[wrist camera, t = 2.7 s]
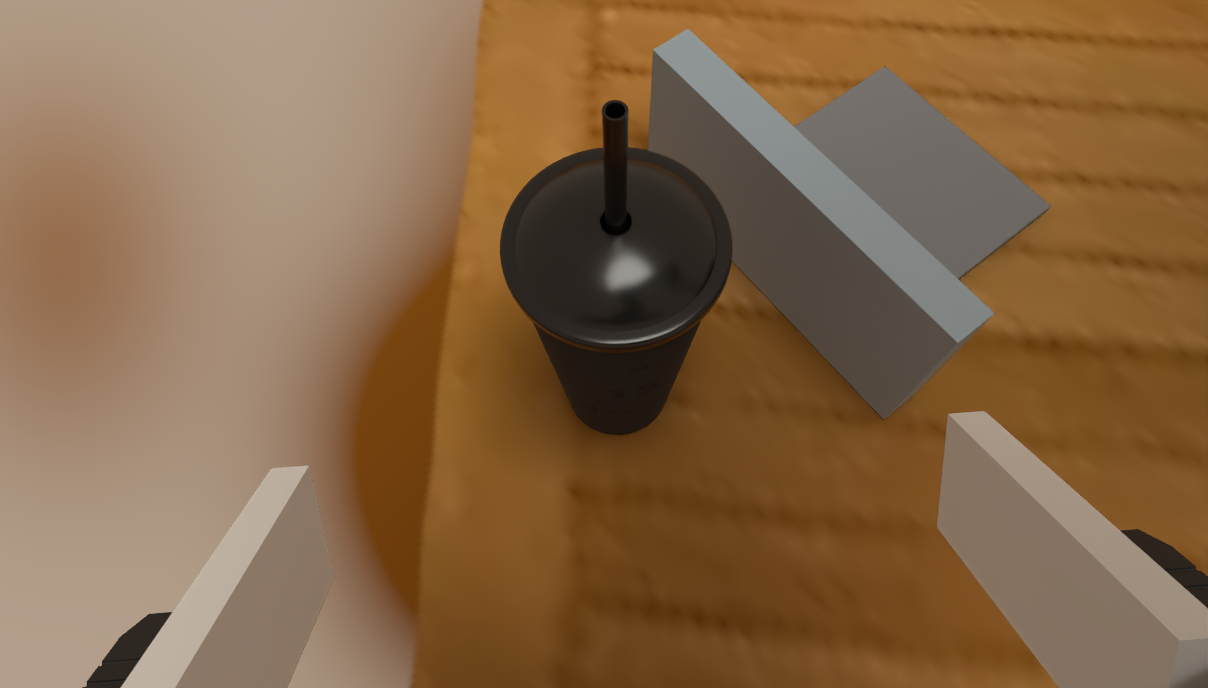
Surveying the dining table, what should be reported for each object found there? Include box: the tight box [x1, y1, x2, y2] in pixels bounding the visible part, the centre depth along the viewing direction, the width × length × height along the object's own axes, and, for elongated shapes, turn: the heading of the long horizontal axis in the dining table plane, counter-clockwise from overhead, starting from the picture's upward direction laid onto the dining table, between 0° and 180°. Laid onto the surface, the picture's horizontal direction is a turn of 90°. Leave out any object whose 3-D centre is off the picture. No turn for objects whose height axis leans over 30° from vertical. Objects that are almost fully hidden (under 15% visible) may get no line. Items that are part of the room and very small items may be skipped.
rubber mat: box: [794, 66, 1050, 280], centre depth 42 cm, size 12×12×1 cm
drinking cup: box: [500, 100, 733, 435], centre depth 29 cm, size 8×8×20 cm
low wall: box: [648, 29, 994, 420], centre depth 37 cm, size 2×18×9 cm, turn 37°
